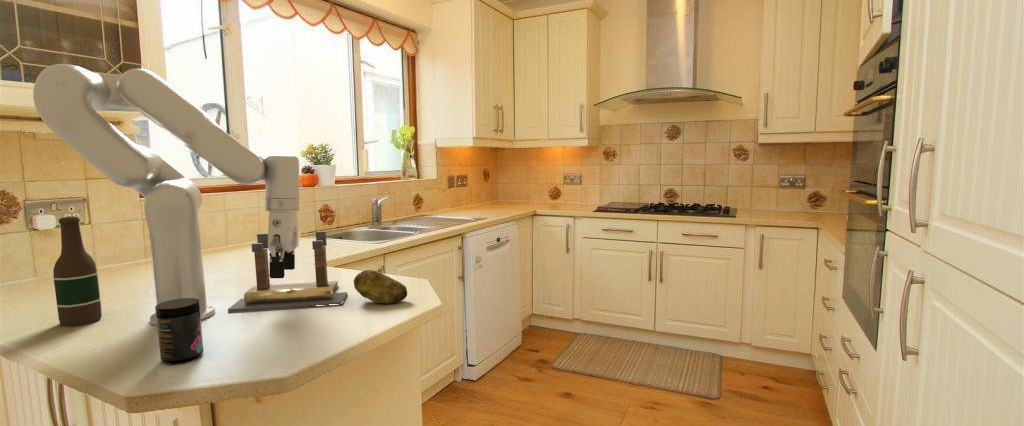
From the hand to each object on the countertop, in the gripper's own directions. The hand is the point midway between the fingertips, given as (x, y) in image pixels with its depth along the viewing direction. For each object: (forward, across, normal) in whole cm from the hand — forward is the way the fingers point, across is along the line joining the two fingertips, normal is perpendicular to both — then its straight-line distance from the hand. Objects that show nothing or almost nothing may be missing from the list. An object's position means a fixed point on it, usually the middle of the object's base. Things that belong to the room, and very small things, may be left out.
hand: (282, 273), depth 123 cm
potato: (+7, -4, -24) cm, 25 cm away
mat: (+8, 0, -2) cm, 8 cm away
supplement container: (+9, -32, +9) cm, 34 cm away
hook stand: (+8, +12, 0) cm, 14 cm away
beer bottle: (+11, -4, +42) cm, 44 cm away
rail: (+5, 0, -2) cm, 6 cm away
